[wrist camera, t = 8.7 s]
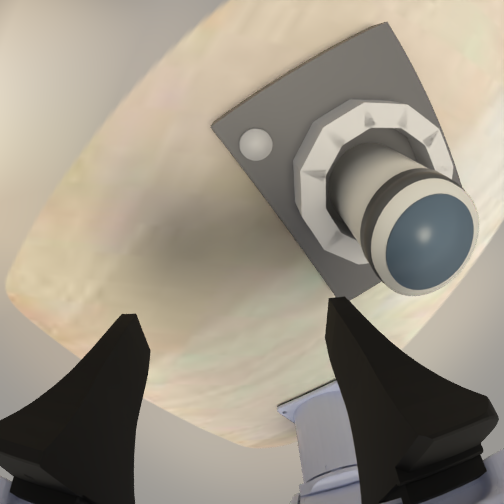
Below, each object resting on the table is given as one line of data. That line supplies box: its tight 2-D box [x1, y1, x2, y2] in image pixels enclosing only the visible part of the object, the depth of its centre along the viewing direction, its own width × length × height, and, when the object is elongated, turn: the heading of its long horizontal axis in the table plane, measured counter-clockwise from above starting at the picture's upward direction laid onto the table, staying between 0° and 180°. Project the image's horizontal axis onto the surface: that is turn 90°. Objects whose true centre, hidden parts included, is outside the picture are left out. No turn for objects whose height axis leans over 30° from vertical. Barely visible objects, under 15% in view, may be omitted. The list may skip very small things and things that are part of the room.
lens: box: [329, 143, 479, 296], centre depth 14 cm, size 5×5×7 cm
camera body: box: [211, 22, 462, 301], centre depth 17 cm, size 14×11×4 cm
